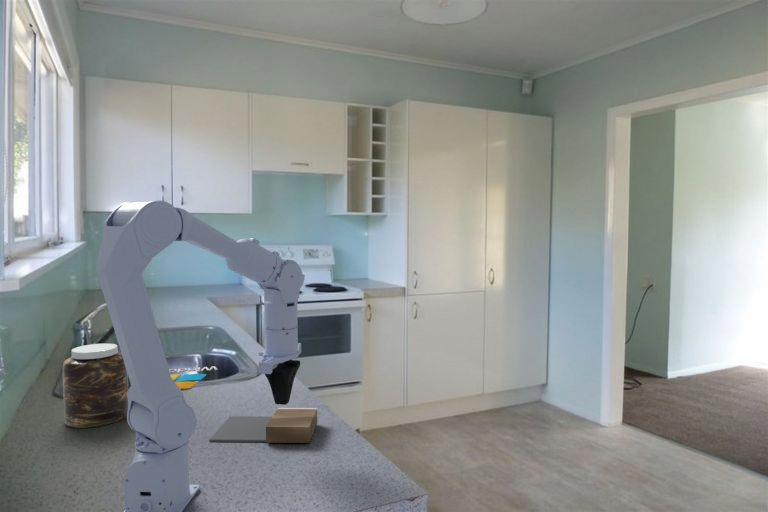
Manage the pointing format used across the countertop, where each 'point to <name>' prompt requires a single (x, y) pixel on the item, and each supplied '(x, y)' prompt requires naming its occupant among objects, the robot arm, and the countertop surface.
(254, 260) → the robot arm
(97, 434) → the countertop surface
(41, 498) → the countertop surface
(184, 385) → the logo
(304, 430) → the wooden block
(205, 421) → the countertop surface
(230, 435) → the mat
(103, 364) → the jar
